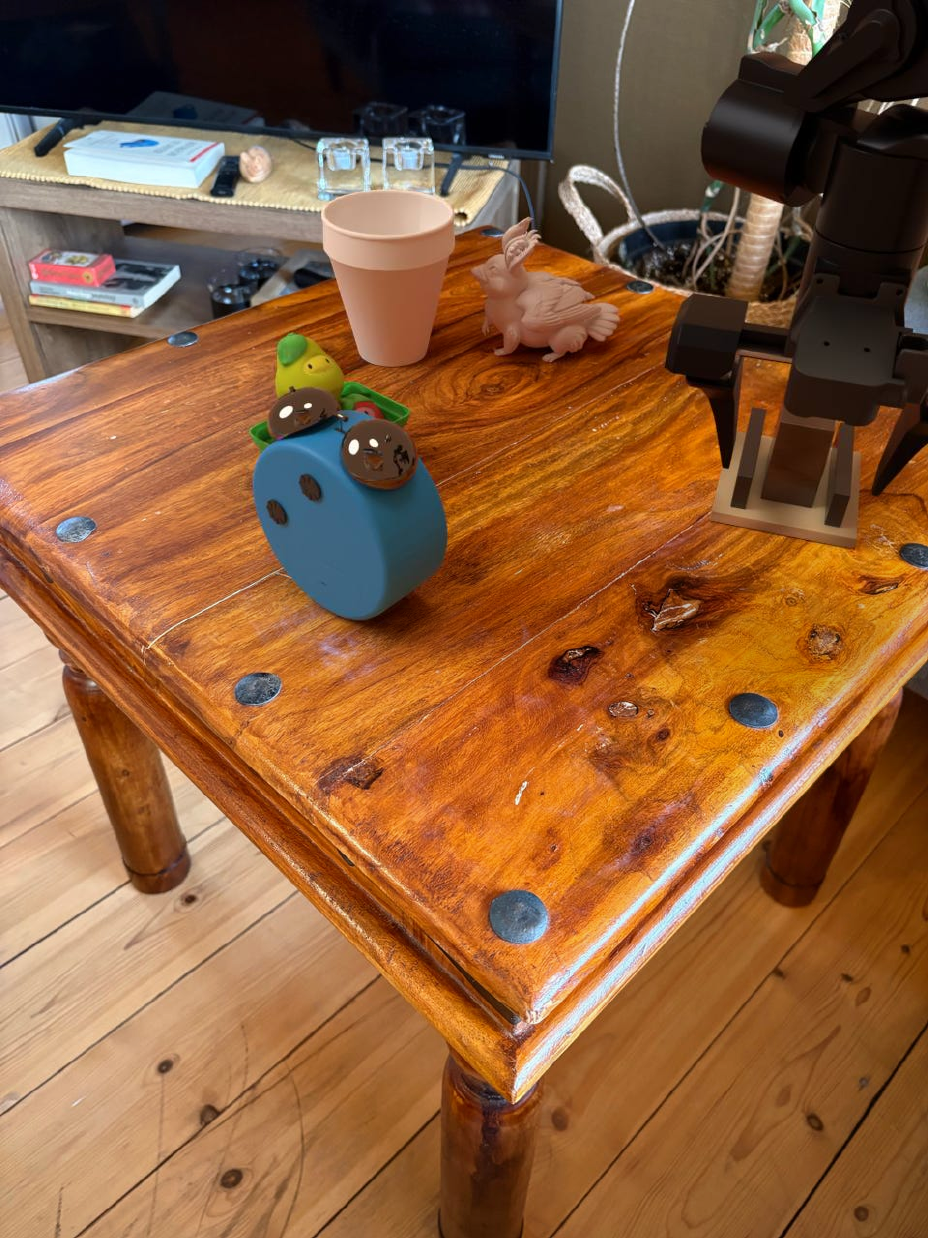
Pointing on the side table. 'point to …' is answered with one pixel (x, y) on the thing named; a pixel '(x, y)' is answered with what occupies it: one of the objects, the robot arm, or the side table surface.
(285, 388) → the fruit basket
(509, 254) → the figurine
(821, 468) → the dark brown block
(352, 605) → the alarm clock
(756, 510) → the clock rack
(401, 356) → the cup
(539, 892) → the side table surface
